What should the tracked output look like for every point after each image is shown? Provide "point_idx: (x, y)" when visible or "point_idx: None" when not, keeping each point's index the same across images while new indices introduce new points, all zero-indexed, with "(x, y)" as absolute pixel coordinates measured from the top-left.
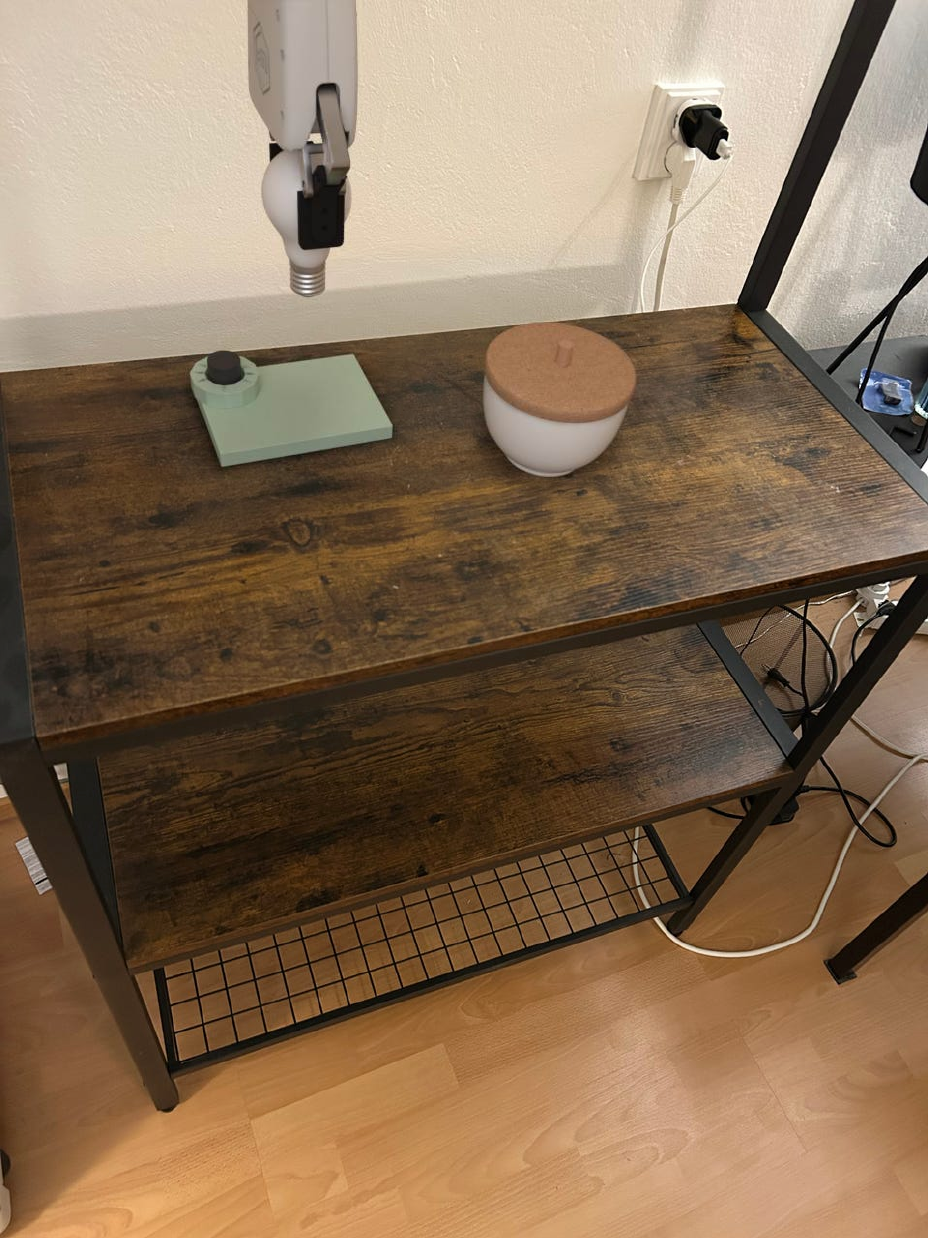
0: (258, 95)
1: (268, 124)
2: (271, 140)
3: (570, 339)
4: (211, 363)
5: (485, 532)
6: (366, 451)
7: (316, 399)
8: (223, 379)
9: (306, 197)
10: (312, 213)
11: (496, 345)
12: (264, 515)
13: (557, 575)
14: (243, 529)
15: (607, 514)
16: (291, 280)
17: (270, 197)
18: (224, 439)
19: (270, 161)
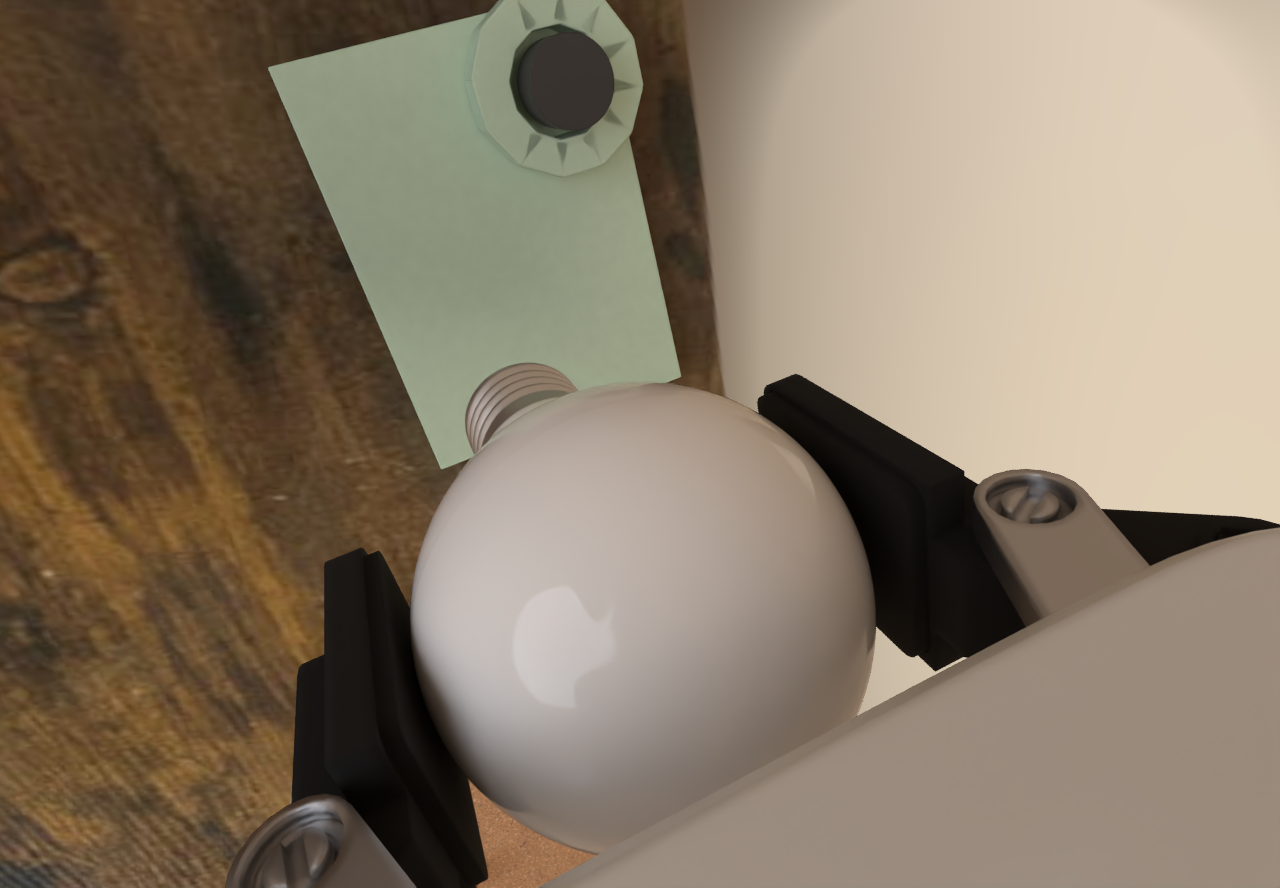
0: (1156, 805)
1: (704, 877)
2: (983, 482)
3: (543, 867)
4: (553, 45)
5: (154, 643)
6: (386, 409)
7: (519, 307)
8: (521, 80)
9: (249, 837)
10: (316, 747)
11: None
12: (90, 186)
13: (49, 767)
14: (12, 130)
15: (261, 812)
16: (509, 380)
17: (512, 489)
18: (333, 79)
19: (883, 439)
